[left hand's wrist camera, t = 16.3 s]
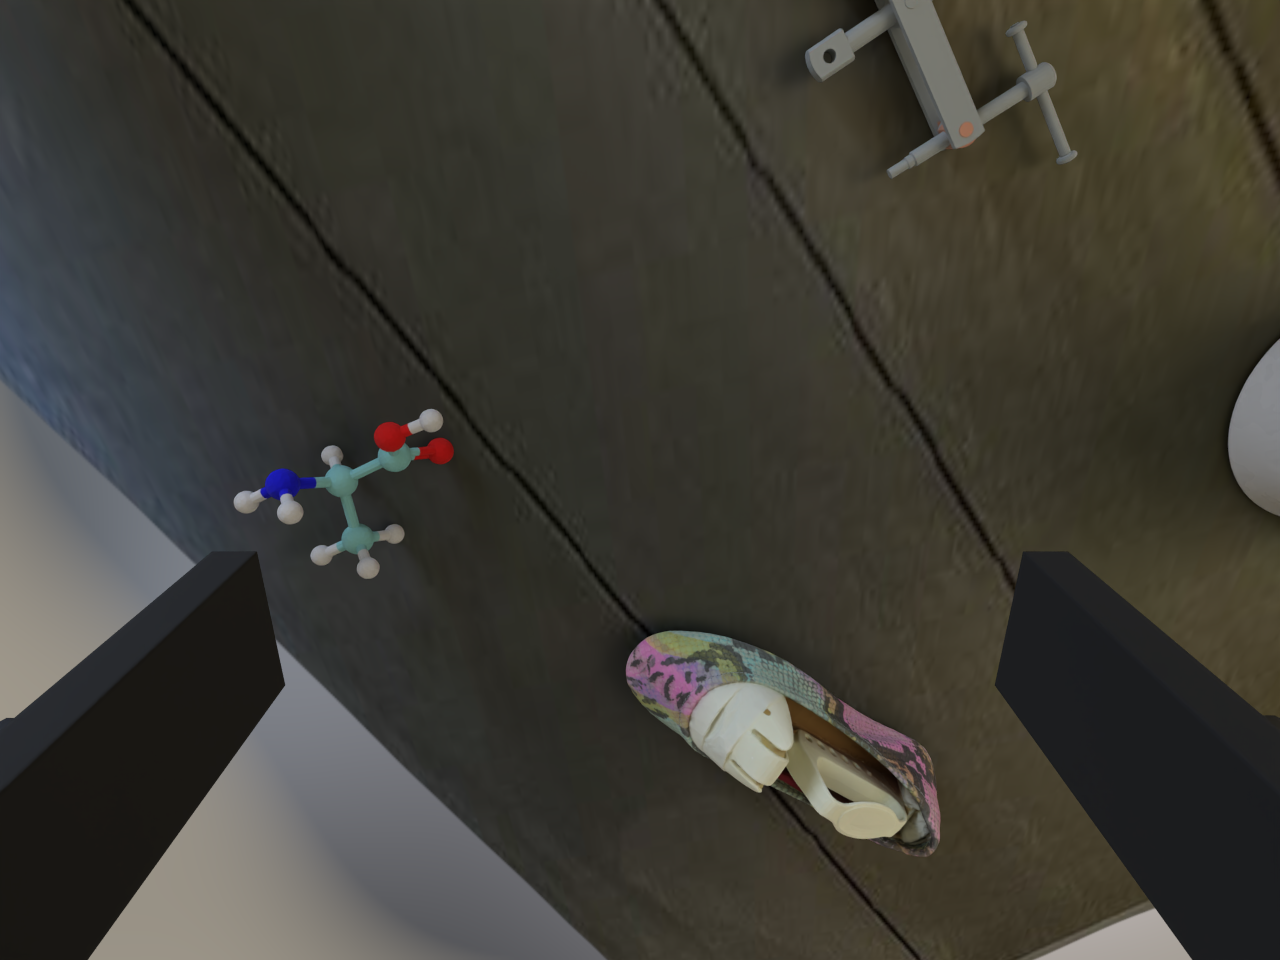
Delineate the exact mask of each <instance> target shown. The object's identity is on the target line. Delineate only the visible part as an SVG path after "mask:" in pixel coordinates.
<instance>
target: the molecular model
mask: <svg viewBox="0 0 1280 960" xmlns="http://www.w3.org/2000/svg"><path fill="white" fill-rule="evenodd" d="M442 424H443V417H442V415H441V414H440V413H439V412H438V411H437V410H434V409H428V410H425V411H423V412H422V414H421V415H420V418H419V419H418V420H415V421H413V422H410V423H408V424H405V425H403V426H400V425H398V424H396V423H394V422H386V423H383V424H381V425H379V426H378V428H377V429H376V431H375V433H374V439H375V443H376V444H377V446H378V447H379V448H380V449H379V452H378V458H376V459H374V460H372V461H370V462H368V463H366V464H364V465H362V466H360V467H358V468H356V469H354V470H353V469H351V468H350V467H347V466H342V465H341V461H342V459H343V453H342V451H341V449H340V448H339V447H337V446H333V445H332V446H328V447H325V448H324V450H323V451H322V454H321V457H322V460H323V461H324V463H326V464H327V465H330V467H331V469H330V470H329V471H328V472H327V474H326V476H325V477H310V478H299V477H298V476H297V475H296V474H295V473H294V472H293V471H291V470H288V469H278V470H275V471H273V472H271V473H270V475H269V476H268V477H267V479H266V482H265V487H264V488H262V489H260V490H258V491H256V492H254V493H253V492H250V491H243V492H240V493H239V494H237V496H236V497H235V498H234V506H235V508H236V509H237V510H238V511H240V512H242V513H251V512H253V511H255V510H256V509H257V507H258V506H259V502H261V501H263V500H265V499H267V498H269V497H273V498H275V499H277V500H281V505H280V506H279V508H278V510H277V515H278V518H279V519H280V520H281V521H282V522H283V523H286V524H295V523H297V522H299V521H300V519H301V518H302V516H303V508H302V506H301V505H300V504H299V503H297V502H295V501H294V500H293V497H294V496H295V495H296V494H297V493H298V491H299V490H300V489H308V488H324V487H326V489H327V490H328V492H330V493H331V494H332V495H335V496H338V497H340V498H341V502H342V505H343V509H344V512H345V515H346V519H347V522H348V526H349V527H347V528H346V529H345V531H344V532H343V535H342V541H340V542H338V543H335V544H333V545H331V546H329V547H327V546H325V545H319V546H317V547H315V548H314V549H313V550H312V552H311V559H312V561H313V562H314V563H315V564H317V565H326V564H328V563H329V562H330V561H331V559H332V557H333V556H334V555H336V554H338V553H340V552H342V551H345V550H347V551H349V552H350V553H353V554H358V557H359V560H360V562H359V563H358V566H357V572H358V574H359V575H360V576H361V577H363V578H365V579H370V578H373V577H375V576H376V575H377V574H378V572H379V568H380V567H379V563H378V562H377V561H376V560H375V559H373V558H371V557H370V555H369V552H368V550H369V549H370V548H371V547H372V545H373V543H374V542H375V541H382V540H387V541H388V542H389V543H392V544H395V543H399V542H400V541H402V539H403V538H404V530H403V528H402V527H401V526H400V525H397V524H392V525H390V526H388V527H387V528H386V529H385V530H383V531H375V532H372V530H371V529H370V528H369V527H368V526H366V525H364V524H359V521H358V517H357V514H356V510H355V507H354V503H353V500H352V496H351V494H352V493H353V492H354V491H355V490H356V488H357V486H358V479H359V478H362V477H364V476H366V475H368V474H370V473H372V472H374V471H376V470H378V469H380V468H385V469H386V470H388V471H392V472H398V471H401V470H403V469H405V468H406V467H407V466H408V465H409V464H410V462H411V460H418V459H427V458H429V459H430V460H431V461H432V462H433V463H436V464H445V463H447V462H449V461H450V460H451V458H452V457H453V453H454V450H453V446H452V444H451V443H450V442H449V441H448V440H447V439H444V438H436V439H433V440H432V441H430V442H429V444H428V446H427V447H416V448H409V447H408V446H407V445H406V444H405V439H406V437H407V436H409V435H412V434H414V433H417V432H420V431H422V430H425V431H427V432H435V431H437V430H439V429H440V428H441V426H442Z"/></svg>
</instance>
